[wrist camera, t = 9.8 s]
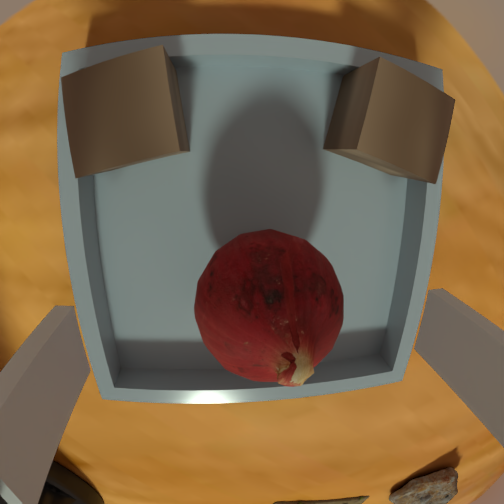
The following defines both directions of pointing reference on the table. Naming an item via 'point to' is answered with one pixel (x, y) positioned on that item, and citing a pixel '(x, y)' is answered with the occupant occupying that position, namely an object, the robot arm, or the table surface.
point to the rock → (428, 489)
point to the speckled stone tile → (331, 501)
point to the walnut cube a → (124, 112)
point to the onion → (269, 307)
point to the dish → (243, 220)
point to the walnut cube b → (391, 121)
